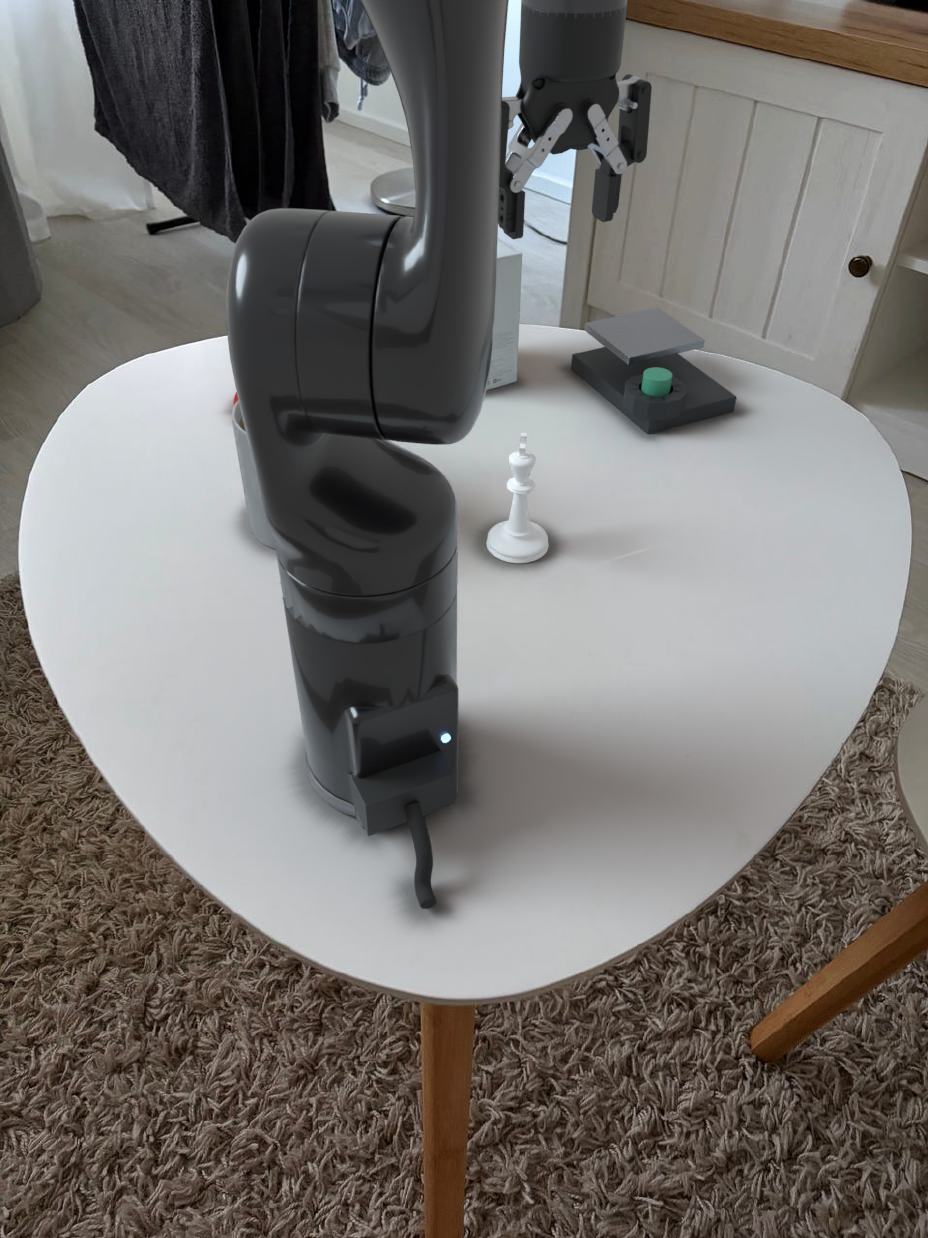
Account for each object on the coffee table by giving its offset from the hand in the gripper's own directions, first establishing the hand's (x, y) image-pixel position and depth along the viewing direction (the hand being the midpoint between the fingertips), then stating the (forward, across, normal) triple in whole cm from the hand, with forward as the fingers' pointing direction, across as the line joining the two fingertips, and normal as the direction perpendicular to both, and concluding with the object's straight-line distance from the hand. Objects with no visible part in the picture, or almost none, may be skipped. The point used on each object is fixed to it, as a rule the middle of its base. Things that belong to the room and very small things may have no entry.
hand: (558, 226), depth 81 cm
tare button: (+15, +9, -5) cm, 18 cm away
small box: (+18, -2, +11) cm, 21 cm away
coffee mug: (+18, -25, -4) cm, 31 cm away
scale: (+18, +12, 0) cm, 22 cm away
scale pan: (+14, +12, +3) cm, 19 cm away
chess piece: (+18, -12, -16) cm, 27 cm away
